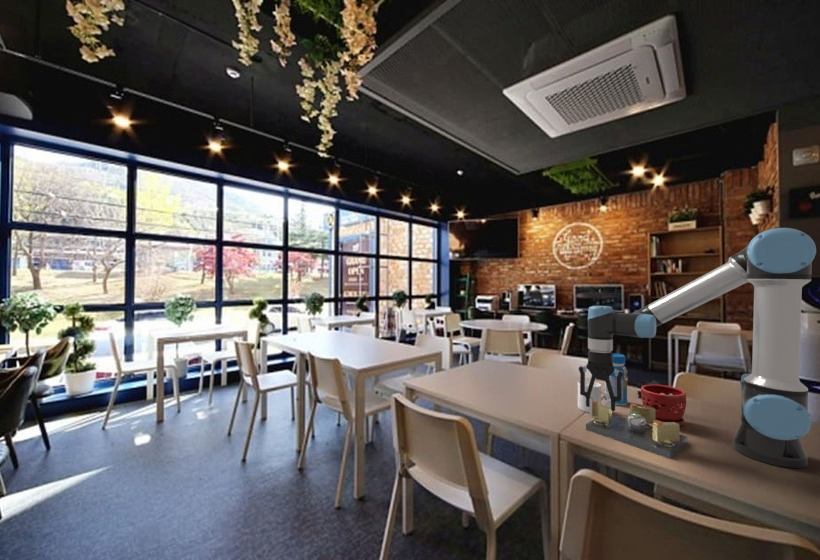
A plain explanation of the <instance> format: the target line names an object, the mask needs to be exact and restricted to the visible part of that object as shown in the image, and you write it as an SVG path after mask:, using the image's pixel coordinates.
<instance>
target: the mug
mask: <svg viewBox="0 0 820 560" xmlns="http://www.w3.org/2000/svg"><path fill="white" fill-rule="evenodd" d="M589 384H590V380H585V392H587V390H588V387H589ZM602 395H604V397H605V396H606V398H607V402H606V404H604V406H606V407H608V401H609V400H611V399H610V396H609V394H608V393H607V392H606V391H605V389H602V384H601V383H599V382H596V381H594V385H593V388H592V391H591V395H590V397H593V400H594V401H597V402H598V404H601V405H602ZM577 408H578V409H579V410H580V411H582V412H583V413H584V412H585V413H588V412H589V407H587V406H586V397H585V396H583V395H581V394H580V381H577Z"/></svg>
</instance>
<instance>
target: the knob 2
mask: <svg viewBox="0 0 820 560" xmlns="http://www.w3.org/2000/svg"><path fill="white" fill-rule="evenodd" d="M652 426H653V440H655V441H657V442H661V443H663V444H666V445H672V444H673V441H680V435H681V433H680V431H681V430H680V429H681V428H680V427H681V426H680V425H679V424H677V423H675V422H660V421H653V424H652Z"/></svg>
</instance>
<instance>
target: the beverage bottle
mask: <svg viewBox="0 0 820 560" xmlns="http://www.w3.org/2000/svg"><path fill="white" fill-rule="evenodd" d="M625 364H626V356H625V355H624V354H621V353H613V366H614V368H615V369H617V370H619V371H620V370H622V371H623V375H622V377H621V401H616V402H615V406H626V405H627V404H628V380H629V377H628V376H627V375H628V370H627V368H626V366H625ZM609 378H610V382H611V386H612V389H613V392H614V396H617V376H615V372H613V373H612V374H611V375H610V376H609ZM604 391H606V392H607V393H608V394H609V392H608V389H607V385H606V382H605V381H604ZM604 401H605V402H606V403H607V398H606V396H605V395H604Z"/></svg>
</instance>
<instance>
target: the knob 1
mask: <svg viewBox="0 0 820 560" xmlns="http://www.w3.org/2000/svg"><path fill="white" fill-rule="evenodd" d="M604 405H605V404H604ZM604 405H603V404H602V403H601V404H598V402H597V401H594V400H593V407H592V418H591V419H593V420H595V422H597V423H600V424H605V423H607V424H610V423H612V415H613V411H612V408H608V407H606V406H604ZM588 416H589V418H590V407H589V415H588Z"/></svg>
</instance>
